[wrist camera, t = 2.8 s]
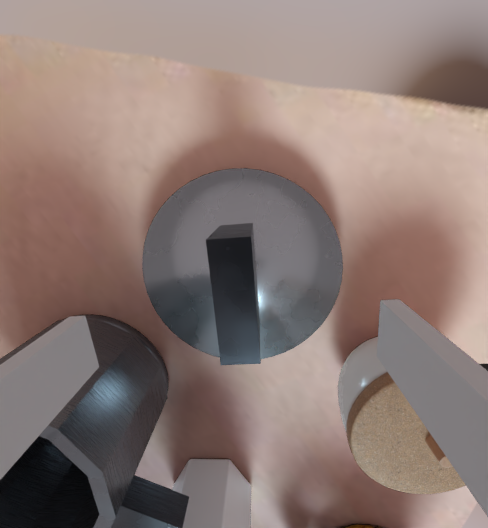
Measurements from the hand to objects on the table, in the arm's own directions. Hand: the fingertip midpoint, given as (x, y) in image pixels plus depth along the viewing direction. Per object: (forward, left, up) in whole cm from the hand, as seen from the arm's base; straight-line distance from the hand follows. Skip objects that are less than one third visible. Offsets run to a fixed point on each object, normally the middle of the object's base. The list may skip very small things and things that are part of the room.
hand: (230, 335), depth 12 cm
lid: (0, 0, -12) cm, 12 cm away
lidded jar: (-3, -16, -12) cm, 20 cm away
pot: (-17, +6, -12) cm, 22 cm away
